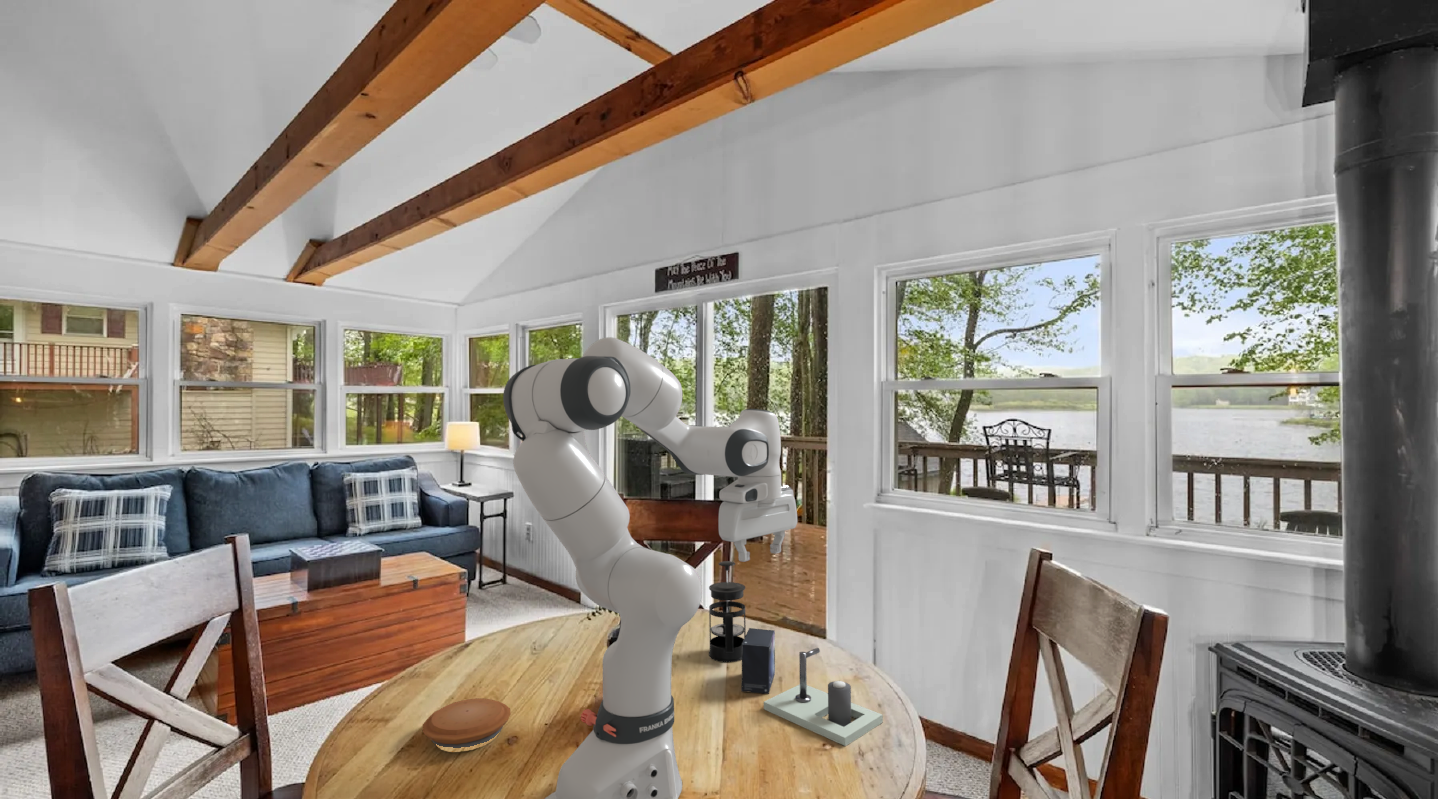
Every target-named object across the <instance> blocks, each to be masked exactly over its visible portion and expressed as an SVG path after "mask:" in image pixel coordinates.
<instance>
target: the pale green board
mask: <svg viewBox="0 0 1438 799" xmlns="http://www.w3.org/2000/svg"><path fill="white" fill-rule="evenodd" d="M798 694H800V683H799V684H797V685H796V686H794V687H792V688H789V689H787V690H785V691H784V692H780V693H779V694H776V695H775V696H773V697H770V698H768V699H766V700H765V701H763V710H765V711H767V712H769V713H771V714H773V715H776V716H778V717H780V718H782V719H784V720H787V721H789V722H791V723H793V724H796V725H798V726H799V727H802V728H804V729H806V730H808V731H811V732H813V733H815V734H818V735H820V736H822V737H824V738H827V739H829V740H831V741H833V742H835V743H837V744H839V745H842V746H844V747H846V746H848V745H849V744H851V743H852V742H855V741H856V740H858V739H859V738H861V737H862V736H864V735H866V733H868V732H869V731H871V730H873V729H874V728H877V727H878V726H880V725H881V724H883V721H884V719H883V717H884V716H883V714H882V713H880V712H876V711H874V710H871V709H869V708H867V707H864V706H862V705H859V704H856V703H853V702H852V701H851V718H854V720H853V721H851V723H850V724H848V725H846V726H845V727H843V726H840V725H838V724H836V723H833V722H831V721H829V720H828V719H826V718H824V717H825V716H828V692H825V691H824V690H821V689H818V688H816V687H813V686H810V685H808V684H807V695H809V696H811V701H810V702H808V703H801V702H798V701H796V699H795V697H796V695H798Z"/></svg>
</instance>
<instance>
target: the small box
mask: <svg viewBox="0 0 1438 799" xmlns="http://www.w3.org/2000/svg"><path fill="white" fill-rule="evenodd" d="M775 632H776V631H775V630H773V629H763V628H752V627H749V628H748V630H747V631H746V636H745V638H744V637H743V639H744V640H743V642H742V660H741V686H740V687H741V692H746V693H754V694H755V693H756V694H766V695H769V694H770V691H771V687H772V684H773V681H774V678H775V674H776V672H775V671H776V638H775V637H776V636H775V635H776V633H775Z"/></svg>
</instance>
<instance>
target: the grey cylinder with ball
mask: <svg viewBox="0 0 1438 799" xmlns="http://www.w3.org/2000/svg"><path fill="white" fill-rule="evenodd" d="M851 686H852V685H850V684H849V683H847V682H846V681H845V682H844V681H843V680H835V681H830V682H829V683H828V684H827V693H828V714H827V717H828V718H827V720H829V721H831V722H833V723H836V724H838V725H840V726H843V727H845V726H846V725H848V724H850V723H851V722H852V716H851V702H852V687H851Z"/></svg>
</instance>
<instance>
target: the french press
mask: <svg viewBox="0 0 1438 799" xmlns="http://www.w3.org/2000/svg"><path fill="white" fill-rule="evenodd" d="M735 565H736V563H735V561H729V560H727V561H726V560H725V561H720V562H718V566H721V567H724V570H725V571H726V573H725V574H726V576H725V577H726V578H725V579H726V581H722V582H715V583H713V584H711V585H709V586H708V589H709V590H710V596H711V598H712V599H714V600H718V601H717V602H714V603H711V604H710V605H709V607H708V608H709V611H708V612H709V615H708V616H709V625H708V626H709V627H708V628H709V652H708V657H709V658H710V659H711V660H713V661H715V662H720V663H736V662H740V661H742V642H743V640H744V638H745V636H746V634H747V631H746V630H747V629H746V605H745V604H744V603H742V602H739V601H737V600H739V599H742V598H743V597H744V591H745V590H746V586H745V585H744V584H742V583H739V582H735V581H734V582H733V581H729V574H728V573H729V572H728V571H730V567H733V566H735ZM730 607H733V608H739V609H740V610H737V611H730V609H731V608H730ZM718 608H722V611H717V610H715V609H718ZM712 616H713V617H716V618H721V619H722V623H720V624H715V625H713V626H712V623H711V622H712V621H711V620H712V618H711V617H712ZM741 616H743V626H742V625H741V624H737V623H734V618H739V617H741ZM712 635H714V637H712ZM741 635H744V636H743V637H741Z"/></svg>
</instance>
